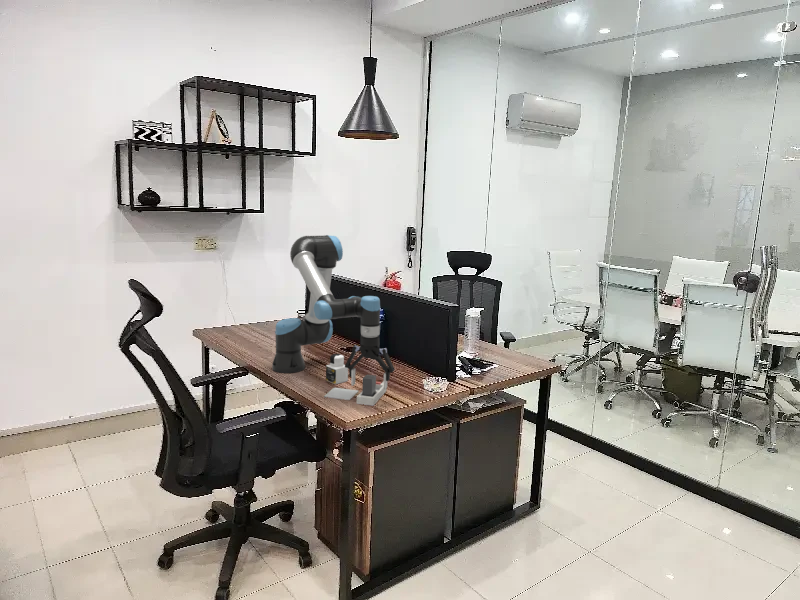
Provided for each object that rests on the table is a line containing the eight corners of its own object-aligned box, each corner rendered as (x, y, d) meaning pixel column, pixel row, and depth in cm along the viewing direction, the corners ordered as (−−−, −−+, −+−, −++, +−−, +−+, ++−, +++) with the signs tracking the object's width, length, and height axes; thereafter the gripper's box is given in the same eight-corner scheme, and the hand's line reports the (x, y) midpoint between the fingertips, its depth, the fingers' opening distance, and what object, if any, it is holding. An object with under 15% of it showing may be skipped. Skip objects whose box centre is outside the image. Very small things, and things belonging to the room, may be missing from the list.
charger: (366, 397, 229) (366, 374, 227) (375, 398, 228) (375, 375, 226) (362, 402, 224) (362, 378, 222) (371, 403, 223) (372, 379, 221)
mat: (334, 388, 239) (334, 387, 239) (358, 391, 236) (358, 390, 236) (324, 397, 228) (324, 396, 228) (349, 400, 226) (349, 399, 225)
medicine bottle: (325, 380, 248) (325, 354, 246) (338, 377, 253) (338, 351, 251) (335, 384, 243) (335, 358, 241) (348, 381, 248) (348, 355, 246)
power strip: (377, 382, 248) (377, 374, 247) (392, 384, 246) (392, 376, 245) (356, 403, 222) (356, 394, 221) (373, 405, 220) (373, 396, 220)
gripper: (337, 334, 220) (336, 385, 224) (397, 340, 214) (396, 393, 218) (343, 330, 228) (343, 380, 232) (402, 335, 221) (401, 386, 225)
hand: (369, 386), depth 225 cm, fingers open, 13 cm apart
